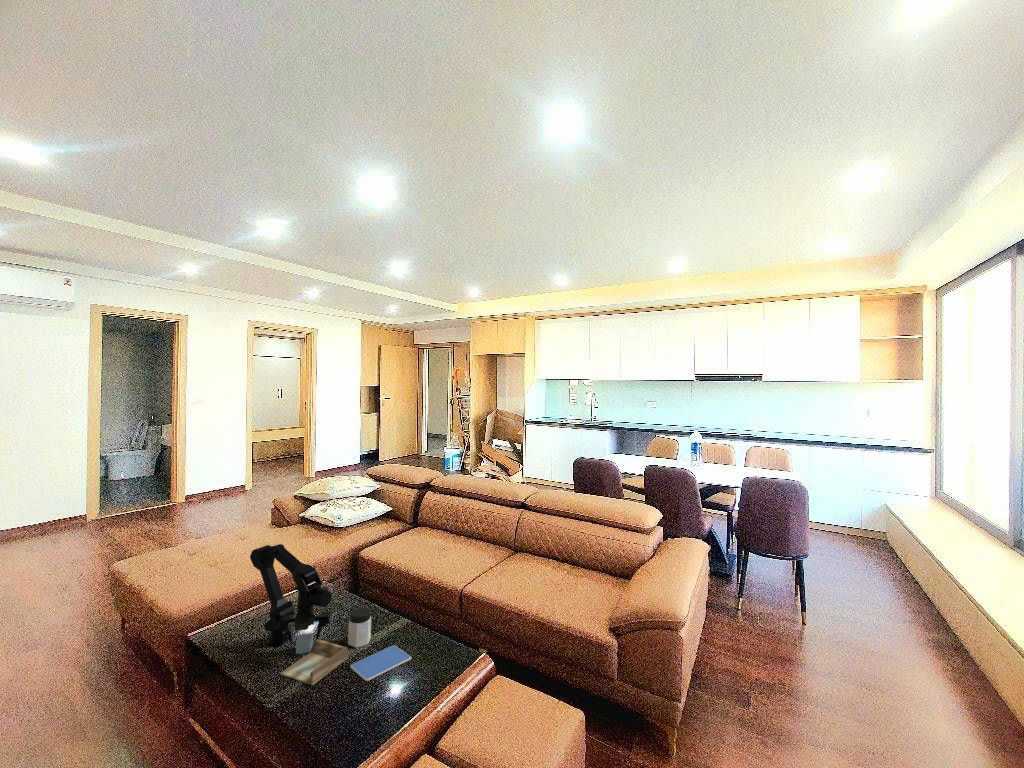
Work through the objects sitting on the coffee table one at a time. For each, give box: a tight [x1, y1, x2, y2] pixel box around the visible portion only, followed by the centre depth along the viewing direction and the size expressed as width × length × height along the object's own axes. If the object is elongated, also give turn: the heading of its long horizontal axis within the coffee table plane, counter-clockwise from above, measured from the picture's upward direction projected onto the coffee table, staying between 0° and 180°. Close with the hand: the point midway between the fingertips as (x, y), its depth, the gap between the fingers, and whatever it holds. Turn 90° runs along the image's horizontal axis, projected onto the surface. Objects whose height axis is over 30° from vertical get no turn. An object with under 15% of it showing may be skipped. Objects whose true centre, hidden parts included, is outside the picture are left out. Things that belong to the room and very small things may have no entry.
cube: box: [295, 632, 314, 655], centre depth 173 cm, size 5×5×5 cm
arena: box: [280, 638, 349, 686], centre depth 163 cm, size 15×17×4 cm
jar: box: [347, 607, 372, 648], centre depth 179 cm, size 9×8×12 cm
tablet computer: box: [349, 644, 412, 682], centre depth 166 cm, size 19×13×1 cm, turn 138°
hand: (304, 641), depth 173 cm, fingers open, 9 cm apart
